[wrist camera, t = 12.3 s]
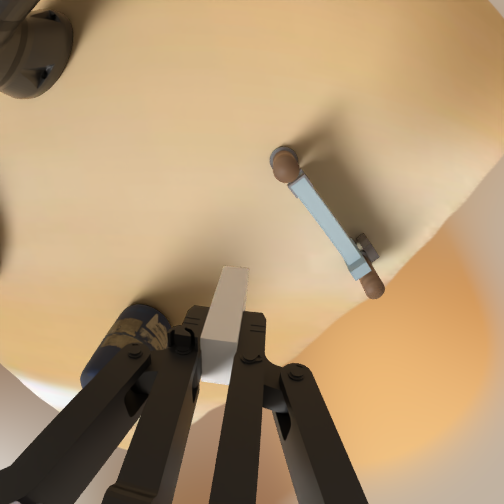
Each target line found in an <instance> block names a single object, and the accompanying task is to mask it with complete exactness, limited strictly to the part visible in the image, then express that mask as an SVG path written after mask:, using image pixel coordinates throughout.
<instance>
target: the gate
mask: <svg viewBox="0 0 504 504" xmlns="http://www.w3.org/2000/svg"><path fill="white" fill-rule="evenodd" d="M287 185H288V188H289V189H290V190H291V191H292V193H293V194H294V195H295V197H296V198H299V199H300V200H301V201H302V203H303V204H304V205H305V207H306V208H307V209H308V211H309V212H310V213H311V215H312V216H313V217H314V219H315V220H316V221H317V223H318V224H319V225H320V227H321V228H322V229H323V231H324V232H325V233H326V235H327V236H328V237H329V239H330V240H331V242H332V243H333V244H334V246H335V247H336V248H337V250H338V251H339V253H340V254H341V255H342V257H343V258H344V260H345V263H346V265H347V267H348V269H349V271H350V273H351V275H352V276H353V278H354V279H355V280H356V281H357V280H358V279H360V278H361V277H363V276H364V275H366V274H367V273H369V272H370V271H372V270H371V269H370V267H369V265H368V264H367V262H366V260H365V259H364V257H363V255H362V253H361V252H360V250H359V248H358V247H357V245H356V244H355V242H354V241H353V239H352V238H349V236H348V235H347V233H346V232H345V231H344V229H343V228H342V226H341V225H340V223H339V222H338V221H337V219H336V218H335V216H334V215H333V214H332V212H331V211H330V209H329V208H328V207H327V205H326V204H325V202H324V201H323V200H322V198H321V197H320V196H319V194H318V193H317V192H316V190H315V189H314V188H313V185H312V183H311V182H310V181H309V178H308V177H307V176H306V174H305V173H304V172H303V170H302V169H301V168H300V172H299V175H298V177H297V178H296V179H295V180H294V181H292V182H290V183H289V184H287Z"/></svg>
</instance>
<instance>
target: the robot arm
mask: <svg viewBox="0 0 504 504" xmlns="http://www.w3.org/2000/svg"><path fill="white" fill-rule="evenodd" d="M39 1H40V0H0V92H2V93H4V94H7V95H9V96H11V97H13V98H17V99H30V98H35V97H38V96H40V95H41V94H43V93H44V92H46V91H47V90H48V89H49V88H50V87H51V86H52V85H53V84H54V83H55V82H56V80H57V79H58V78H59V76H60V75H61V73H62V71H63V69H64V68H65V65H66V63H67V61H68V58H69V55H70V52H71V48H72V42H73V31H72V26H71V23H70V21H69V19H68V18H67V17H66V16H65V15H64V14H62V13H60V12H57V11H54V10H49V9H44V10H37V11H31V10H32V9H33V8H34V7H35V6H36V5H37V3H38V2H39ZM248 276H249V268H242V267H233V266H223V269H222V272H221V275H220V278H219V281H218V284H217V287H216V290H215V293H214V297H213V300H212V303H211V306H210V307H202V306H195V305H194V306H193V307H192V308H191V309H189V310H188V312H187V314H186V317H185V319H184V322H183V324H182V325H179V326H175V327H173V328H171V329H169V331H168V332H167V338H168V348H167V349H164V350H154V351H150V349H149V348H148V346H146V345H145V344H143V343H139V342H136V343H130V344H127V345H126V346H124V347H123V348H122V349H121V350H120V351H119V352H118V353H117V354H116V355H115V356H114V357H113V358H112V359H111V360H110V361H109V362H108V363H107V364H106V365H105V366H104V367H103V368H102V369H101V370H100V371H99V372H98V373H97V374H96V376H95V377H94V378H93V379H92V380H91V381H90V382H89V383H88V384H87V385H86V386H85V387H84V388H83V389H82V390H81V391H80V392H79V393H78V394H77V395H76V396H75V397H74V398H73V399H72V400H71V401H70V402H69V404H68V405H67V406H66V407H65V408H64V409H63V410H62V411H61V412H60V413H59V414H58V415H57V416H56V417H55V418H54V419H53V420H52V421H51V423H50V424H49V425H48V426H47V427H46V428H45V429H44V430H43V431H42V432H41V433H40V434H39V435H38V436H37V437H36V439H35V440H34V441H33V442H32V443H31V444H30V445H29V446H28V447H27V448H26V449H25V450H24V452H23V453H22V454H21V455H20V456H19V457H18V458H17V459H16V460H15V462H14V463H13V464H12V465H11V466H9V467H7V468H4V469H2V470H0V504H74V503H75V502H76V500H77V499H78V498H79V496H80V495H81V493H82V492H83V491H84V490H85V489H86V487H87V486H88V485H89V483H90V482H91V481H92V479H93V478H94V477H95V475H96V474H97V473H98V471H99V470H100V469H101V467H102V466H103V465H104V464H105V462H106V461H107V460H108V458H109V457H110V456H111V454H112V453H113V451H114V450H115V449H116V448H117V446H118V445H119V444H120V442H121V441H122V440H123V438H124V437H125V436H126V434H127V433H128V432H129V430H130V429H131V428H132V426H133V425H134V424H135V422H136V421H137V420H138V418H139V417H140V416H141V417H140V419H139V422H138V424H137V427H136V430H135V432H134V435H133V438H132V440H131V443H130V446H129V448H128V451H127V454H126V456H125V459H124V462H123V465H122V468H121V470H120V473H119V476H118V479H117V481H116V483H115V484H113V485H111V486H109V488H108V489H107V491H106V493H105V495H104V498H103V501H102V503H101V504H172V501H173V497H174V492H175V488H176V484H177V480H178V475H179V471H180V467H181V463H182V459H183V455H184V451H185V446H186V442H187V438H188V434H189V430H190V426H191V422H192V418H193V414H194V410H195V406H196V402H197V398H198V394H199V382H200V378H201V381H203V382H210V383H217V384H224V385H229V388H228V394H227V400H226V406H225V411H224V417H223V424H222V429H221V435H220V441H219V447H218V452H217V458H216V464H215V471H214V476H213V482H212V488H211V493H210V499H209V504H256V492H257V479H258V466H259V452H260V436H261V422H262V421H261V420H262V407H264V408H267V409H270V410H272V413H273V416H274V420H275V423H276V427H277V431H278V434H279V438H280V441H281V445H282V448H283V452H284V455H285V459H286V462H287V465H288V469H289V472H290V475H291V479H292V482H293V486H294V489H295V493H296V496H297V499H298V502H299V504H368V502H367V499H366V497H365V494H364V492H363V490H362V487H361V485H360V483H359V480H358V478H357V476H356V473H355V471H354V469H353V467H352V464H351V462H350V459H349V458H348V455H347V453H346V450H345V448H344V446H343V443H342V441H341V439H340V436H339V434H338V432H337V430H336V427H335V425H334V422H333V420H332V418H331V416H330V413H329V411H328V409H327V406H326V404H325V402H324V400H323V397H322V395H321V393H320V390H319V388H318V386H317V383H316V381H315V379H314V377H313V374H312V372H311V371H310V369H309V368H308V367H306V366H305V365H302V364H299V363H291V364H287V365H286V366H284V367H280V366H277V365H275V364H272V363H271V362H270V361H269V360H268V359H267V358H266V356H265V335H266V318H265V316H264V315H263V313H258V312H249V311H245V307H246V297H247V286H248Z"/></svg>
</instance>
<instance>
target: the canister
mask: <svg viewBox="0 0 504 504" xmlns="http://www.w3.org/2000/svg"><path fill="white" fill-rule="evenodd" d="M169 329H171V326H170V324H169V322H168V320H167V319H166V318H165V316H164V315H163V314H161V313H160V312H159V311H157V310H156V309H154V308H152V307H150V306H146V305H140V304H137V305H132V306H129V307H127V308H126V309H125V310H124V311H123V312H122V313H121V314H120V316H119V317H118V319H117V320H116V322H115V323H114V324H113V326H112V327H111V329H110V330H109V332H108V333H107V335H106V336H105V338H104V339H103V341H102V342H101V344H100V345H99V347H98V348H97V350H96V351H95V353H94V354H93V356H92V357H91V359H90V360H89V362H88V364H87V365H86V367H85V368H84V370H83V372H82V374H81V378H80V381H81V386H82V388H84V387H85V386H86V385H87V384H88V383H89V382H90V381H91V380H92V379H93V378H94V377H95V376H96V374H97V373H98V372H99V371H100V370H101V369H102V368H103V367H104V366H105V365H106V364H107V363H108V362H109V361H110V360H111V359H112V358H113V357H114V356H115V355H116V354H117V353H118V352H119V351H120V350H121V349H122V348H123V347H124V346H126V345H127V344H130V343H136V342H139V343H143V344H145V345H146V346H148V348H149V349H150V351H154V350H164V349H167V348H168V338H167V332H168V331H169Z"/></svg>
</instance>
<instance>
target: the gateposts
mask: <svg viewBox="0 0 504 504" xmlns="http://www.w3.org/2000/svg"><path fill="white" fill-rule="evenodd" d="M270 165H271V167H272V169H273V173H274V176H275V177H276V179H277V180H279V181H280V182H283V183H290V182H292V181H294V180H295V179H296V178H297V177H298V175H299V172H300V168H299V165H298V158H297V155H296V153H295V152H294V151H293V150H292V149H290V148H288V147H279V148H277V149H275V150H274V151H273V152H272V154H271V156H270ZM357 240H358V241H359V243H360V245H361V246H362V248H363V249H364V251H360V252H361V253H362V255H363V257H364V259H365V260H366V262H367V264H368V265H369V267H370V269H371V270H372V271H370V272H369V273H367V274H366V275H364V276H363V277H361V278H360V279H359V280H360V282H361V284H362V286H363V288H364V291H365V293H366V295H367V296H368V297H369V298H370V299H377V298H379V297H381V296H382V294H383V293H384V291H385V287H384V285H383V283H382V281H381V279H380V278H379V276H378V274H377V273H376V271H375V269H374V268H373V266H372V264H371V262H373V261H375V260H376V259H378V258H379V255H378V254H377V252H376V251H375V249H374V247H373V246H372V244H371V243H370V242H369V240H368V239H367V237H366V236H365V235H364V234H362V235H361V236H359V237H358V238H357Z"/></svg>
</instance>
